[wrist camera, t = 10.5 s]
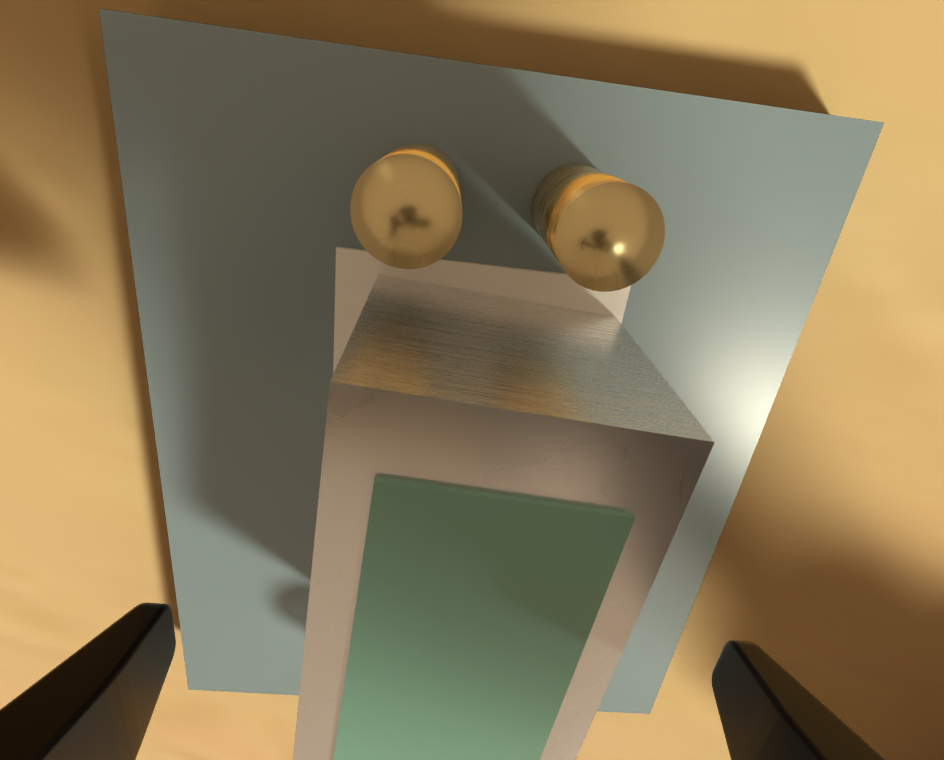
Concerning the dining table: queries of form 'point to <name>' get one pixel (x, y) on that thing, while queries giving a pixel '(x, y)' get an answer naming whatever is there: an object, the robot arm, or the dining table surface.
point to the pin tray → (435, 279)
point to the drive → (484, 526)
